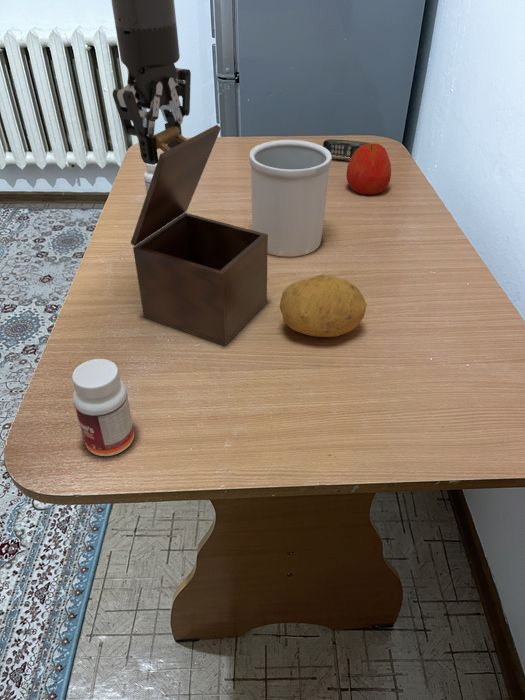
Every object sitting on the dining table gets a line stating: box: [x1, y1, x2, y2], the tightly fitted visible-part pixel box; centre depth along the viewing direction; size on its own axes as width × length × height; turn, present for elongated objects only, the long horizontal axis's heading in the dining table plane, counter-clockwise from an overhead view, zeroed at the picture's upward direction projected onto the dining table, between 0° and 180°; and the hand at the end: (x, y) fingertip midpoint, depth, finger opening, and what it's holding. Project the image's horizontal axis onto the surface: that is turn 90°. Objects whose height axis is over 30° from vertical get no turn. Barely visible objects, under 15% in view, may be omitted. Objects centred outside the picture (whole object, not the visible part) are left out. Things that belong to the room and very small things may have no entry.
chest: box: [132, 212, 269, 347], centre depth 90 cm, size 16×14×13 cm
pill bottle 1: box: [71, 358, 135, 457], centre depth 68 cm, size 6×6×11 cm
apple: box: [345, 143, 392, 195], centre depth 129 cm, size 10×10×10 cm
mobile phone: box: [322, 139, 372, 162], centre depth 145 cm, size 5×3×15 cm
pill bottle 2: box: [143, 163, 157, 195], centre depth 122 cm, size 6×5×10 cm
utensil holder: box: [248, 139, 333, 258], centre depth 107 cm, size 15×15×18 cm
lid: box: [130, 124, 222, 247], centre depth 83 cm, size 16×14×5 cm
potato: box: [279, 274, 367, 338], centre depth 87 cm, size 10×13×9 cm
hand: (163, 156), depth 80 cm, fingers closed on lid, 5 cm apart
